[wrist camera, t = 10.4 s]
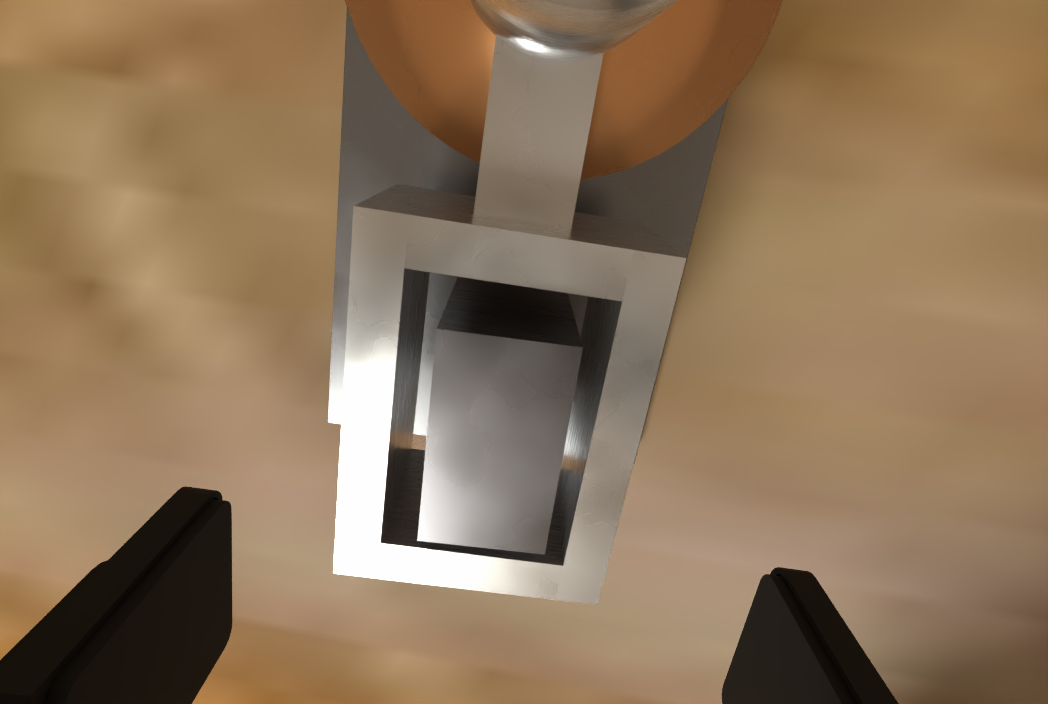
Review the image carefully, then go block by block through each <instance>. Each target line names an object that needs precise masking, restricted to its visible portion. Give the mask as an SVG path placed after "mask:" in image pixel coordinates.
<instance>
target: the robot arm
mask: <svg viewBox="0 0 1048 704" xmlns="http://www.w3.org/2000/svg"><path fill="white" fill-rule="evenodd" d="M231 629H232V519H231V504H230V502H228V501H223V500H222V495H221V493H220V492H219V491H214V490H207V489H200V488H192V487H182V488H181V489H179V490H178V491H177V492H176V493H175V494H174V495H173V496H172V497H171V498H170V499H169V500H168V501H167V502H166V503H165V504H164V505H163V506H162V507H161V508H160V509H159V510H158V511H157V512H156V513H155V514H154V515H153V516H152V517H151V518H150V519H149V520H148V521H147V522H146V523H145V524H144V525H143V526H142V527H141V528H140V529H139V530H138V531H137V532H136V533H135V534H134V535H133V536H132V537H131V538H130V539H129V540H128V541H127V542H126V543H125V544H124V545H123V546H122V547H121V548H120V549H119V550H118V551H117V552H116V553H115V554H114V555H113V556H112V557H111V558H110V559H109V560H107V561H105V562H102V563H100V564H99V565H97V566H96V567H95V568H94V569H92V570H91V571H90V572H89V573H88V574H87V575H86V576H85V577H84V578H83V579H82V580H81V581H80V582H79V583H78V584H77V585H76V586H75V587H74V588H73V589H72V590H71V591H70V592H69V593H68V594H67V595H66V596H65V597H64V598H63V599H62V600H61V601H60V602H59V603H58V604H57V605H56V606H55V607H54V608H53V609H52V610H51V611H50V612H49V613H48V614H47V615H46V616H45V617H44V618H43V619H42V620H41V621H40V622H39V623H38V624H37V625H36V626H35V627H34V628H33V629H32V630H31V631H30V632H29V633H28V634H27V635H25V636H24V637H23V638H22V639H21V640H20V641H19V642H18V643H17V644H16V645H15V646H14V647H13V648H12V649H11V650H10V651H9V652H8V653H7V654H6V655H5V656H4V657H3V658H2V659H1V660H0V704H192V702H193V701H194V699H195V697H196V696H197V694H198V692H199V690H200V689H201V687H202V685H203V684H204V682H205V680H206V679H207V677H208V675H209V674H210V672H211V670H212V669H213V667H214V665H215V664H216V662H217V660H218V659H219V657H220V655H221V654H222V652H223V650H224V648H225V647H226V645H227V642H228V640H229V637H230V633H231ZM722 703H723V704H898V702H897V701H896V699H895V698H894V696H893V695H892V693H891V692H890V690H889V689H888V687H887V686H886V684H885V683H884V681H883V680H882V678H881V677H880V675H879V674H878V672H877V671H876V669H875V667H874V666H873V664H872V663H871V661H870V660H869V658H868V657H867V655H866V654H865V652H864V651H863V649H862V648H861V646H860V645H859V643H858V642H857V640H856V639H855V637H854V635H853V634H852V632H851V631H850V629H849V628H848V626H847V625H846V623H845V622H844V620H843V619H842V617H841V616H840V614H839V613H838V611H837V610H836V608H835V607H834V605H833V604H832V602H831V600H830V599H829V597H828V596H827V594H826V593H825V591H824V590H823V588H822V587H821V585H820V584H819V582H818V581H817V579H816V578H815V576H814V575H813V574H812V573H810V572H808V571H802V570H794V569H787V568H780V567H778V568H775V569H774V570H772V572H771V574H770V575H769V574H766V575H764V576H763V577H762V578H761V580H760V583H759V586H758V589H757V591H756V594H755V597H754V600H753V603H752V606H751V608H750V611H749V614H748V617H747V620H746V622H745V625H744V628H743V631H742V634H741V637H740V639H739V642H738V645H737V648H736V651H735V654H734V656H733V659H732V662H731V665H730V668H729V670H728V673H727V676H726V679H725V682H724V685H723V689H722Z"/></svg>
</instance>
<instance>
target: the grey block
mask: <svg viewBox="0 0 1048 704" xmlns="http://www.w3.org/2000/svg"><path fill="white" fill-rule="evenodd" d="M582 350H583V346H582V342H581V339H580V335H579V331H578V328H577V324H576V321H575V317H574V313H573V310H572V306H571V302H570V299H569V295H568V293H563V292H557V291H550V290H544V289H537V288H530V287H524V286H517V285H511V284H504V283H498V282H491V281H484V280H478V279H471V278H465V277H457V280H456V282H455V285H454V287H453V289H452V292H451V294H450V297H449V299H448V302H447V304H446V307H445V309H444V312H443V314H442V316H441V319H440V321H439V324H438V326H437V329H436V339H435V350H434V361H433V372H432V383H431V394H430V405H429V416H428V427H427V439H426V450H425V461H424V472H423V483H422V494H421V505H420V516H419V527H418V538H417V541H424V542H433V543H443V544H452V545H461V546H470V547H479V548H488V549H498V550H507V551H516V552H525V553H534V554H543V555H545V551H546V545H547V540H548V534H549V529H550V523H551V518H552V513H553V507H554V502H555V496H556V491H557V486H558V480H559V475H560V469H561V464H562V458H563V453H564V448H565V442H566V437H567V431H568V426H569V421H570V415H571V410H572V404H573V399H574V393H575V388H576V383H577V377H578V372H579V366H580V361H581V356H582Z"/></svg>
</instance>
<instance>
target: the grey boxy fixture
mask: <svg viewBox="0 0 1048 704" xmlns="http://www.w3.org/2000/svg"><path fill="white" fill-rule="evenodd" d="M345 2H346V5H347V19H346V41H345V63H344V85H343V107H342V128H341V150H340V172H339V194H338V215H337V237H336V259H335V281H334V302H333V324H332V346H331V368H330V390H329V411H328V422H329V423H336V424H341V441H340V459H339V477H338V496H337V514H336V532H335V550H334V568H333V573H336V574H344V575H352V576H361V577H369V578H377V579H386V580H394V581H402V582H410V583H419V584H427V585H435V586H444V587H452V588H460V589H469V590H477V591H485V592H494V593H502V594H510V595H518V596H527V597H535V598H543V599H552V600H560V601H568V602H577V603H585V604H593V605H598V601H599V597H600V593H601V589H602V585H603V581H604V578H605V574H606V570H607V566H608V562H609V558H610V554H611V550H612V546H613V542H614V539H615V535H616V531H617V527H618V523H619V519H620V515H621V511H622V507H623V503H624V500H625V496H626V492H627V488H628V484H629V480H630V476H631V472H632V468H633V464H634V463H635V459H636V455H637V451H638V447H639V443H640V439H641V436H642V432H643V428H644V424H645V420H646V416H647V412H648V408H649V404H650V400H651V397H652V393H653V389H654V385H655V381H656V377H657V373H658V369H659V365H660V362H661V358H662V354H663V350H664V346H665V342H666V338H667V334H668V330H669V326H670V323H671V319H672V315H673V311H674V307H675V303H676V299H677V295H678V291H679V287H680V284H681V280H682V276H683V272H684V268H685V264H686V260H687V256H688V252H689V249H690V245H691V241H692V237H693V233H694V229H695V225H696V221H697V217H698V213H699V210H700V206H701V202H702V198H703V194H704V190H705V186H706V182H707V178H708V175H709V171H710V167H711V163H712V159H713V155H714V151H715V147H716V143H717V139H718V136H719V132H720V128H721V124H722V120H723V116H724V112H725V108H726V104H727V101H728V98H729V96H730V95H731V94H732V92H733V91H734V90H735V88H736V87H737V86H738V84H739V83H740V82H741V81H742V79H743V78H744V77H745V75H746V74H747V72H748V71H749V69H750V67H751V66H752V64H753V62H754V61H755V59H756V57H757V56H758V54H759V52H760V51H761V49H762V47H763V46H764V44H765V41H766V39H767V37H768V35H769V33H770V30H771V28H772V26H773V24H774V22H775V19H776V17H777V15H778V12H779V9H780V6H781V3H782V0H345ZM457 277H465V278H471V279H478V280H484V281H491V282H498V283H504V284H511V285H517V286H524V287H530V288H537V289H544V290H550V291H557V292H563V293H568V295H569V299H570V302H571V306H572V310H573V313H574V317H575V321H576V324H577V328H578V331H579V335H580V339H581V342H582V346H583V350H582V356H581V361H580V366H579V372H578V377H577V383H576V388H575V393H574V399H573V404H572V410H571V415H570V421H569V426H568V431H567V437H566V442H565V448H564V453H563V458H562V464H561V469H560V475H559V480H558V486H557V491H556V496H555V502H554V507H553V513H552V518H551V523H550V529H549V534H548V540H547V545H546V551H545V555H543V554H534V553H525V552H516V551H507V550H498V549H488V548H479V547H470V546H461V545H452V544H443V543H433V542H424V541H417V538H418V527H419V516H420V505H421V494H422V483H423V472H424V461H425V450H417V449H412V441H413V434H418V435H425V436H427V427H428V416H429V405H430V394H431V383H432V372H433V361H434V350H435V339H436V329H437V326H438V324H439V321H440V319H441V316H442V314H443V312H444V309H445V307H446V304H447V302H448V299H449V297H450V294H451V292H452V289H453V287H454V285H455V282H456V280H457Z"/></svg>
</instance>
